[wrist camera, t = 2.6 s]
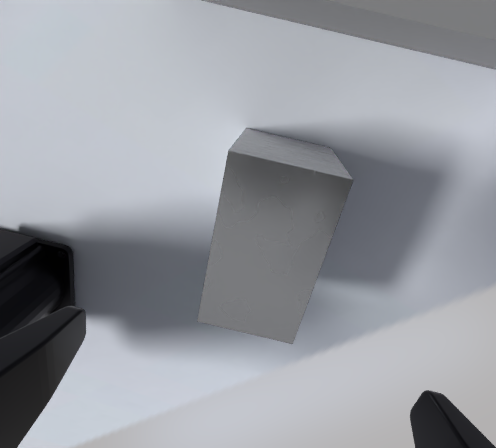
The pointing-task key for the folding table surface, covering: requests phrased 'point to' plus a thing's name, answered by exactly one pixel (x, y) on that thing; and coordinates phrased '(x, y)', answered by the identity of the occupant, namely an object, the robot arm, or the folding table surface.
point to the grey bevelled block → (271, 233)
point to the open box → (397, 23)
